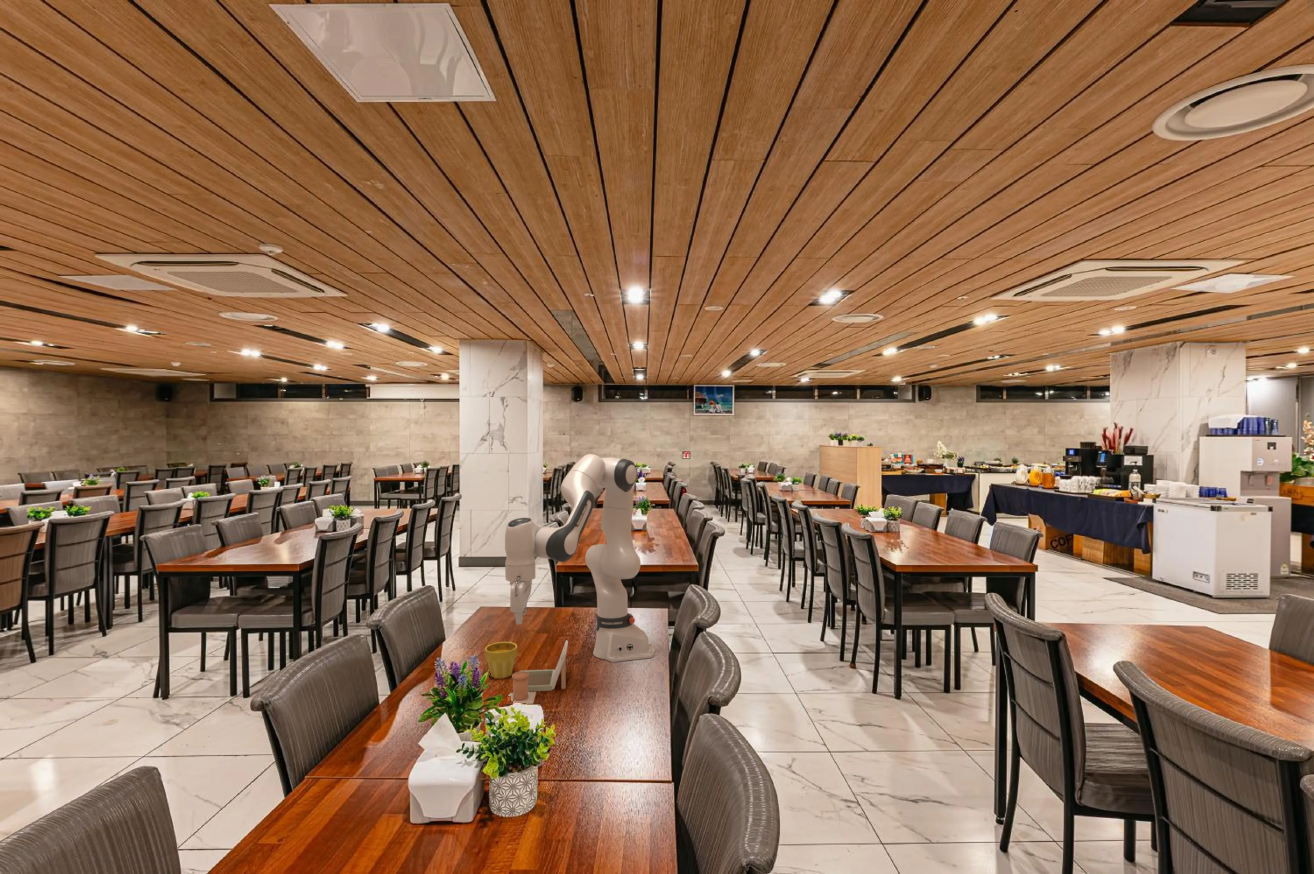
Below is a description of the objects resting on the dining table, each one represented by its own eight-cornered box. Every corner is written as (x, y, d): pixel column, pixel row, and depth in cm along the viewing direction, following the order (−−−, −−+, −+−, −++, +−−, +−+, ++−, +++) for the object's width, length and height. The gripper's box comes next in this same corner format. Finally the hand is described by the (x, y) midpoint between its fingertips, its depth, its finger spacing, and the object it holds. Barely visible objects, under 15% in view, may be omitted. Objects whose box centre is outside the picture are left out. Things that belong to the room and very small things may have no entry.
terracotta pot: (530, 693, 184) (530, 670, 184) (528, 700, 179) (528, 677, 179) (513, 694, 184) (513, 671, 184) (510, 701, 179) (510, 677, 179)
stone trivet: (536, 694, 186) (535, 691, 186) (533, 705, 178) (533, 702, 178) (509, 695, 185) (509, 692, 185) (505, 706, 177) (505, 704, 177)
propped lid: (568, 674, 201) (568, 639, 201) (566, 691, 188) (565, 654, 188) (554, 675, 201) (554, 640, 201) (551, 692, 187) (551, 654, 187)
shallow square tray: (555, 675, 201) (555, 669, 201) (552, 692, 187) (552, 685, 187) (519, 676, 200) (519, 670, 200) (513, 693, 186) (513, 687, 186)
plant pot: (509, 683, 194) (508, 652, 194) (479, 681, 196) (479, 650, 197) (522, 671, 205) (522, 642, 205) (494, 669, 207) (493, 640, 207)
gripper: (527, 580, 173) (527, 629, 173) (534, 565, 193) (535, 609, 193) (504, 581, 172) (505, 630, 172) (514, 566, 192) (515, 609, 192)
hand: (521, 618), depth 183 cm, fingers open, 8 cm apart
